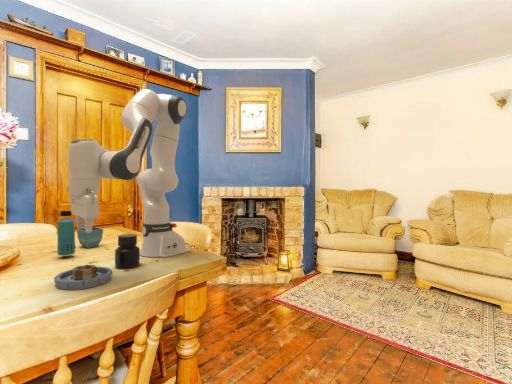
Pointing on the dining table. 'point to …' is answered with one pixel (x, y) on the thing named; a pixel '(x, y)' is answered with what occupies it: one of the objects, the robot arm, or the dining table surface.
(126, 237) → the ink bottle
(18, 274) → the dining table surface
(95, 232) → the flower pot
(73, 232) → the beverage bottle
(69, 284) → the groove tray
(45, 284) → the dining table surface
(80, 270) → the bead loop
